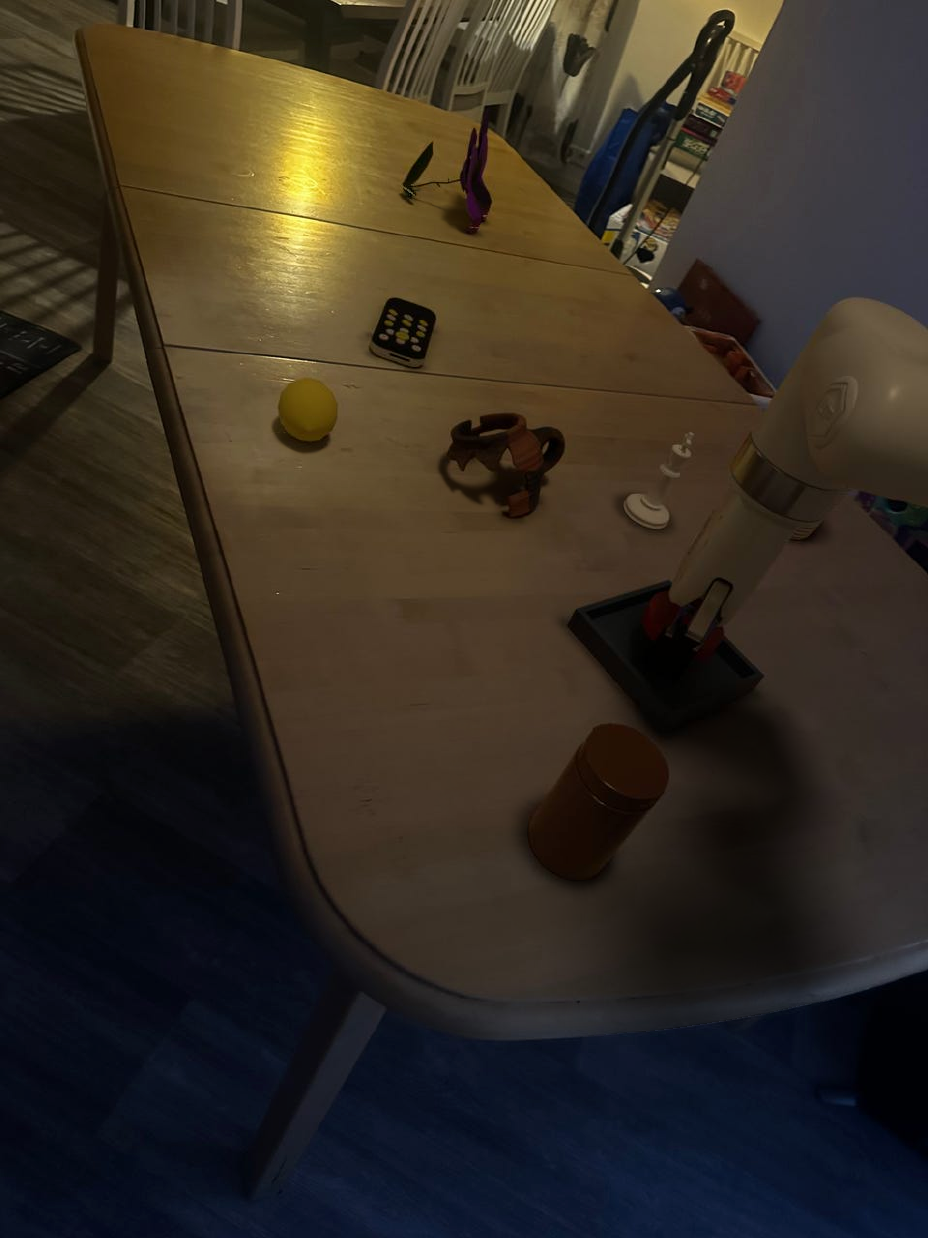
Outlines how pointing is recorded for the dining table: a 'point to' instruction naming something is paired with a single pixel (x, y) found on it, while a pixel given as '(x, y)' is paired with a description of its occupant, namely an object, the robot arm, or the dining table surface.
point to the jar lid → (665, 611)
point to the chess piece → (658, 490)
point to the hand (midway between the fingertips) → (669, 644)
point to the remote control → (403, 332)
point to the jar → (598, 801)
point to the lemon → (308, 409)
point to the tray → (666, 703)
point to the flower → (463, 174)
